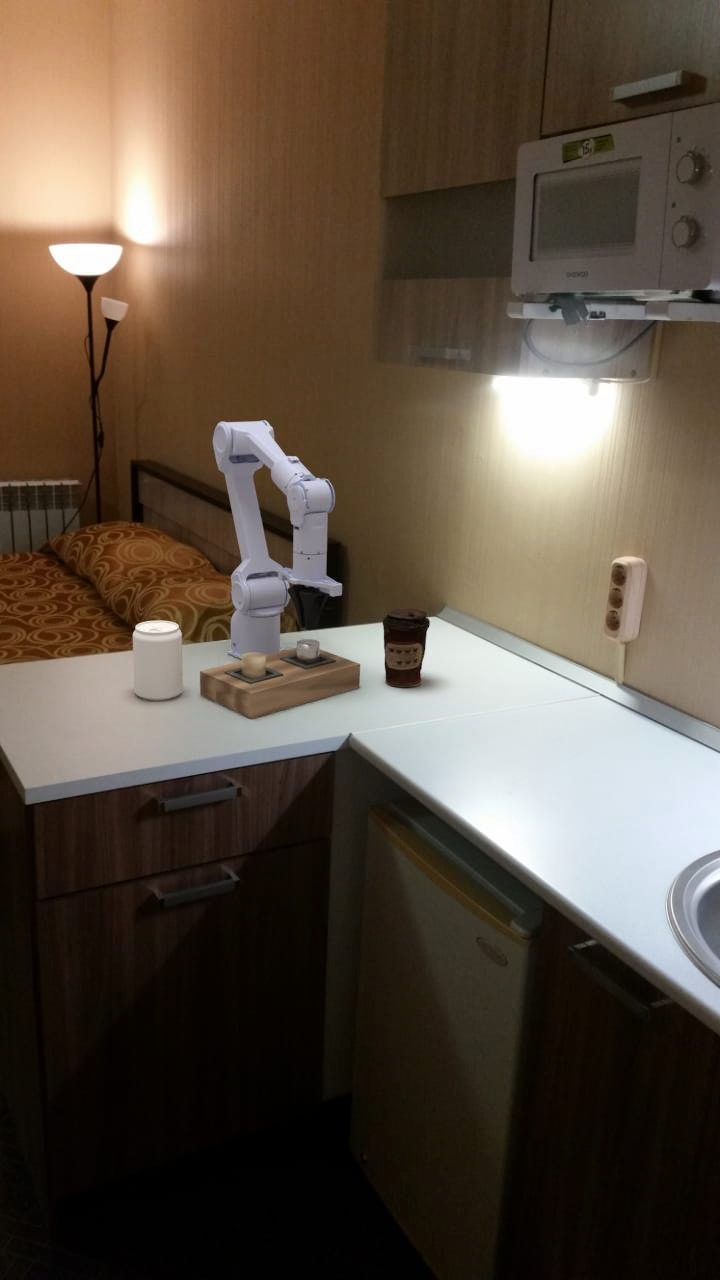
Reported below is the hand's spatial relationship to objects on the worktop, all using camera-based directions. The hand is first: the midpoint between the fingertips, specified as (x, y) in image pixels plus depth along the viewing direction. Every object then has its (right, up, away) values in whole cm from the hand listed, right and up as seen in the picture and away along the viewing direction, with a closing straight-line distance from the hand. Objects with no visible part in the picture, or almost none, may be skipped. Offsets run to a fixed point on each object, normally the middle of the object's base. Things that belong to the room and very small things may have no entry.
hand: (308, 627), depth 189 cm
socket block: (-5, -11, -1) cm, 12 cm away
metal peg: (0, -7, +2) cm, 7 cm away
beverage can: (-25, -11, -4) cm, 28 cm away
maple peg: (-9, -9, -6) cm, 14 cm away
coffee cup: (+17, -10, +6) cm, 20 cm away
